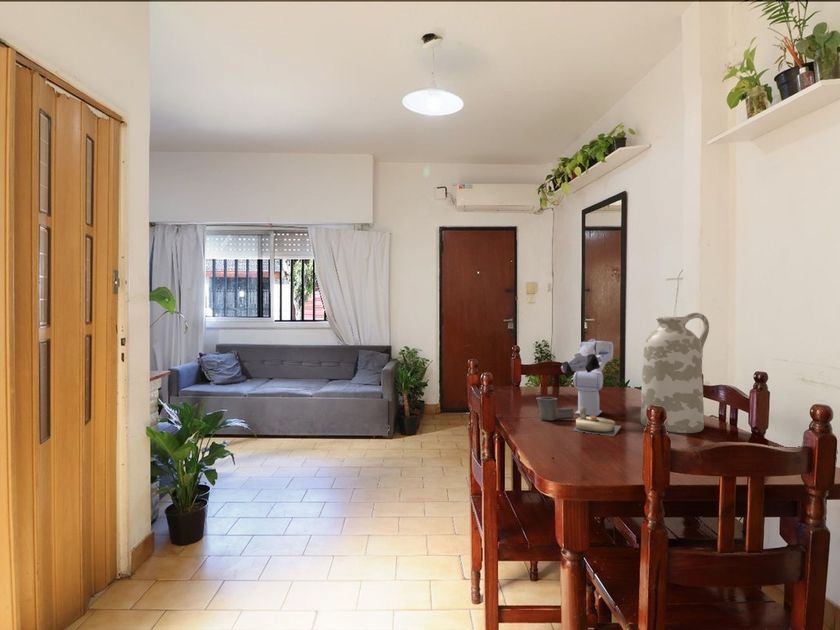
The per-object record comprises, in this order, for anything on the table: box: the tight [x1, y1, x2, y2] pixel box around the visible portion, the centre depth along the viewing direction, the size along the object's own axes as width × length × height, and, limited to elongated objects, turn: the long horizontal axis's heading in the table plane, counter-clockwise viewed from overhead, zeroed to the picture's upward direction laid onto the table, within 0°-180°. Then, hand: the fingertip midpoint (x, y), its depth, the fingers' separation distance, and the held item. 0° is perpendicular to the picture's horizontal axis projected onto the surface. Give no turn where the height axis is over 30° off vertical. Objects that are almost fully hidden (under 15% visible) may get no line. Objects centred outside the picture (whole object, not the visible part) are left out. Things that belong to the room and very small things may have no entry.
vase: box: [640, 312, 710, 434], centre depth 156 cm, size 20×19×38 cm
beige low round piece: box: [575, 407, 616, 432], centre depth 154 cm, size 12×12×6 cm
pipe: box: [536, 396, 575, 422], centre depth 167 cm, size 6×13×8 cm, turn 89°
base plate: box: [570, 424, 622, 437], centre depth 154 cm, size 14×13×1 cm
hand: (576, 372), depth 159 cm, fingers open, 7 cm apart
